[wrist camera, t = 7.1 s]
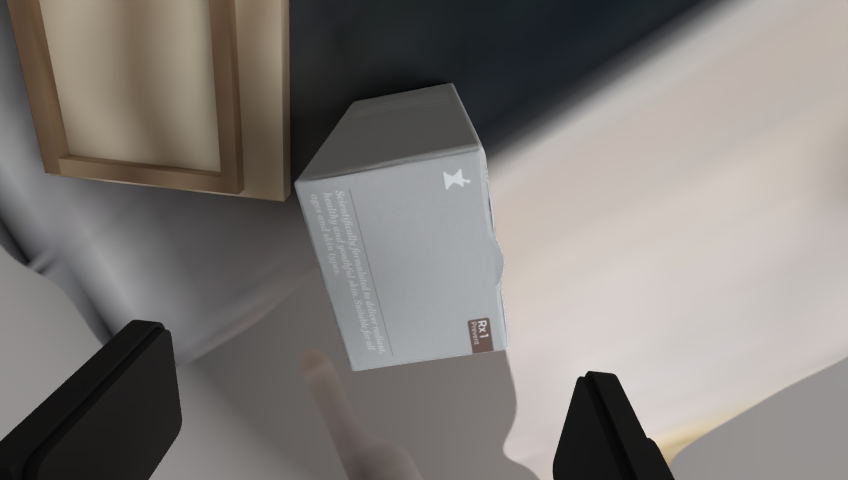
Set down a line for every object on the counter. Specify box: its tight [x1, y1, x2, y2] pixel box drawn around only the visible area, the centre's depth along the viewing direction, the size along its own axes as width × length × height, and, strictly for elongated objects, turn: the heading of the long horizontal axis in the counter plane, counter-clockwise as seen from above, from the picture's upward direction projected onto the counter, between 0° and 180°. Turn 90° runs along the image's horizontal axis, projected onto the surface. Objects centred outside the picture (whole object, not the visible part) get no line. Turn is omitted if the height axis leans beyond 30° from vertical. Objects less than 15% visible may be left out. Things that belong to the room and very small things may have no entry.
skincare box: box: [294, 83, 510, 371], centre depth 24 cm, size 8×7×16 cm
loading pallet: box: [7, 0, 291, 202], centre depth 27 cm, size 15×20×4 cm
